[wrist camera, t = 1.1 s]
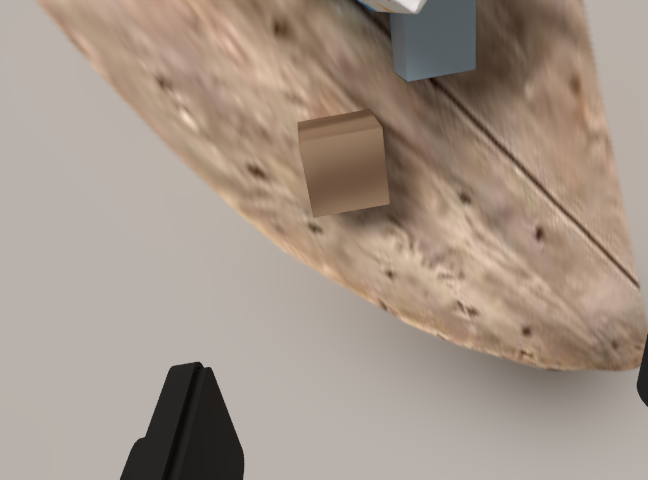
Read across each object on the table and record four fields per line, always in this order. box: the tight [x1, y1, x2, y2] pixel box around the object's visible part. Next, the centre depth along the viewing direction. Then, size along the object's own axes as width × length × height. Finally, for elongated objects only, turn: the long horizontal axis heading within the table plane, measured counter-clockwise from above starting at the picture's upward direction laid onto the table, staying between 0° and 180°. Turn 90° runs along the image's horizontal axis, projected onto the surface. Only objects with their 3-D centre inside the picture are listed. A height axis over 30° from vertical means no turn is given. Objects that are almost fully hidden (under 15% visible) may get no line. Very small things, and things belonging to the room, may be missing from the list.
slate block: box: [389, 0, 476, 82], centre depth 26 cm, size 4×4×4 cm
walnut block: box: [298, 109, 390, 218], centre depth 29 cm, size 5×5×5 cm
